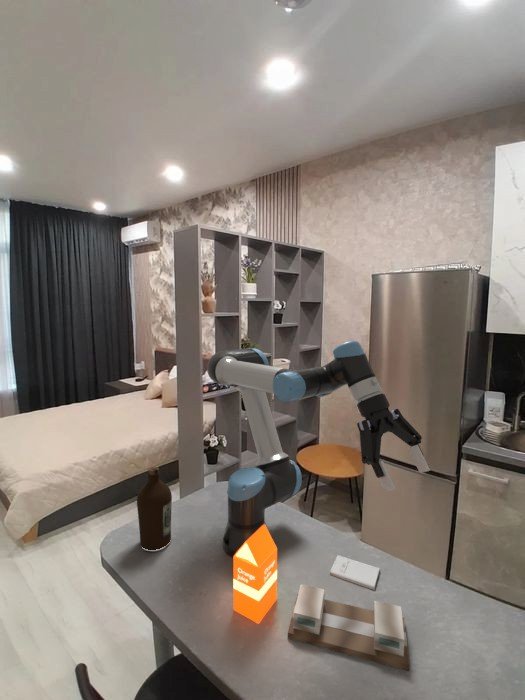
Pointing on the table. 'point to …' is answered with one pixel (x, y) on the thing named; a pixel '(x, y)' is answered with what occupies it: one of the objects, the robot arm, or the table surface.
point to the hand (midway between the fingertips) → (408, 480)
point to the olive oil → (154, 512)
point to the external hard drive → (355, 572)
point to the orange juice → (255, 575)
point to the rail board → (350, 628)
